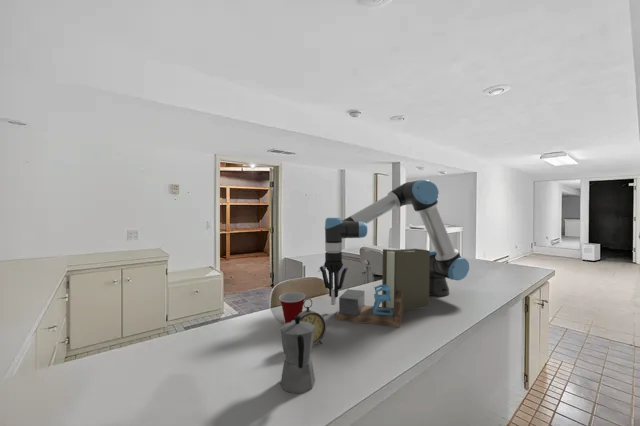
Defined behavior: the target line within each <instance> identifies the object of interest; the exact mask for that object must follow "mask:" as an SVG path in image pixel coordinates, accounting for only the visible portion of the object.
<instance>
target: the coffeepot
mask: <svg viewBox="0 0 640 426" xmlns="http://www.w3.org/2000/svg"><path fill="white" fill-rule="evenodd" d="M294 318H295V320H292V321H291V322H290V323H286V324H285V323H283V325H282V326H281V327H280V328H279V332H280V338H281V346H282V351H283V354H284V357H285V358H284V361H283V367H282V373H281V379H280V386H281V387H282V389H283V390H284V391H286V392H288V393H291V394H303V393H306V392H309V391H310V390H311V389H312V388H314V385H315V382H316V377H315V371H314V370H315V369H314V366H313V360H312V357H311V353H312V351H313V346H314V345H313V338H314V330H315V326H314V325H312V324H311V323H309V322H302V321H300V318H301V317H300V316H295V317H294ZM312 345H313V346H312Z"/></svg>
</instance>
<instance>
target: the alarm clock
mask: <svg viewBox="0 0 640 426" xmlns="http://www.w3.org/2000/svg"><path fill="white" fill-rule="evenodd" d="M308 300H309V301H310V302H311V304H310V305H309V306H305V303H306V301H308ZM312 306H313V300H312V299H311V298H305V299H304V304H303V308H305V310H302V312H301V313H299V314H298V315H297V316H300V317H301V318H300V321H302V322H309V323H311V324H312V325H314V326H315V330H314V338H313V345H312V347H313V346H315V345H317V344H318V343H320V345H323V342H322V341H321V340H322V339H323V337H324V335H325V332H326V328H327V327H326V320H325V319H324V317H323V315H321V314H320V313H319V312H316V311H315V310H311V309H310V308H311V307H312Z"/></svg>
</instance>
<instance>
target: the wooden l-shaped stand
mask: <svg viewBox="0 0 640 426" xmlns="http://www.w3.org/2000/svg"><path fill="white" fill-rule="evenodd" d="M373 306H374V305H365V306H364V308H363V309H362V311H361V312H360V314H359V315H358V316H350V315H342V314H339V311H338V312H337V314H336V318H335V319H336V321H337V320H339V321H344V322H345V321H346V322H353V323H354V322H355V323H362V324H369V325H370V324H371V325H379V326H386V327H387V326H388V327H396V328H401V324H402V320H403V317H404V316H403V314H404V312H403V291H398V293H397V296H396V299H395V309H394V308H391V310H392V312H393V316H385V315H378V314H373V312H372V309H373ZM385 308H386V307H382V306H379V307H378V309H385ZM381 312H383V313H390V311H381ZM390 314H391V313H390Z"/></svg>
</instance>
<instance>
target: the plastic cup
mask: <svg viewBox="0 0 640 426" xmlns="http://www.w3.org/2000/svg"><path fill="white" fill-rule="evenodd" d="M306 297H307V296H306V294H305V293H303V292H300V291H290V292H284V293H282V294H280V295H279V297H278V300H279V301H280V305H281V307H282V308H281V310H282V312H283V314H282V315H283V318H284V324H286V323H290V322H291V321H292V320H295V318H294V317H295V316H297V315H298V314H299V313H301V312H303V309H304V305H305V303H304V301H305V300H306ZM303 304H304V305H303Z"/></svg>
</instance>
